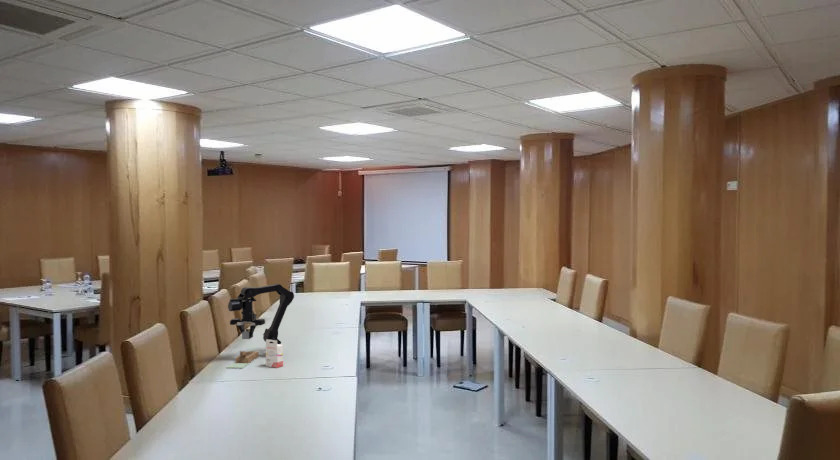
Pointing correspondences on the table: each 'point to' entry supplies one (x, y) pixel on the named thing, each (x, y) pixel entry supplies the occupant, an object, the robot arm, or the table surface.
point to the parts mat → (237, 365)
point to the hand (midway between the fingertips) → (247, 336)
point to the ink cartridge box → (274, 354)
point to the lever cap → (246, 334)
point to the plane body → (247, 356)
